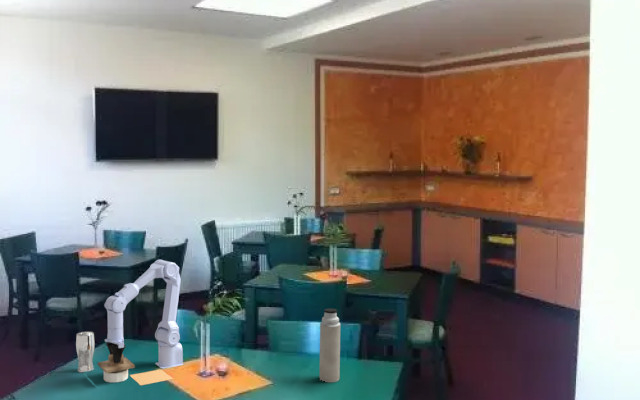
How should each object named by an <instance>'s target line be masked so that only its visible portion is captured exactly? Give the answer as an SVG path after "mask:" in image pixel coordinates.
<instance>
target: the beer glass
mask: <svg viewBox="0 0 640 400" xmlns="http://www.w3.org/2000/svg"><path fill="white" fill-rule="evenodd" d="M75 339H76V341H75V348H76V353H77V358H78V366H77V372H79V373H82V374H83V373H85V372H90V371H93V370H94V369H95V368H94V363H93V359H94V352H95V333H94V332H93V331H81V332H78V333H76V338H75Z"/></svg>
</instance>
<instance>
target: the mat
mask: <svg viewBox="0 0 640 400" xmlns="http://www.w3.org/2000/svg"><path fill="white" fill-rule="evenodd" d="M129 377H131V378H132V379H133V380H134V381H135V382H137V384H138V385H139V386H144V385H145V386H146V385H150V384H154V383H159V382H165V381H170V380H173V379H174V378H173V377H172V376H171V375H169V374H168V373H167V372H165V371H164V370H162V369H161V368H160V369H156V370H150V371H145V372H140V373H134V374H129Z"/></svg>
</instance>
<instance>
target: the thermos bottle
mask: <svg viewBox="0 0 640 400" xmlns="http://www.w3.org/2000/svg"><path fill="white" fill-rule="evenodd" d="M323 311H324V312H323V313H324V314H323V316H322V318H321V322H320V325H319V329H320V332H319V377H318V378H320V379H319V381H321V380H322V381H321V382H323V381H325V383H336V382H339V380H340V376H341V375H340V369H341V368H340V367H341V365H340V363H341V322H340V318H339V317H338V316H337V315H338V314H337V312H338V310H337V309H336V308H325V309H324V310H323Z"/></svg>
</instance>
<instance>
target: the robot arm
mask: <svg viewBox="0 0 640 400" xmlns="http://www.w3.org/2000/svg"><path fill="white" fill-rule="evenodd" d="M149 266H150V267H149V268H148V269H147V270H145V272H144V273H142V274H141V276H139V277H138V278H137V279H136V280H135V281H134V282H133V283H132V282H129V283H125V284H124V285H123V287H122V288H121V289H120V290H119V291H118V292H115V293H114V295H111V296H109V297H107V298H106V300H105V302H104V303H103V304H104V305H103V306H104V308H105V309H106V312H107V313H106V314H107V337H106V338H105V339H104V342H105V345H106V346H107V349H108V351H109V355H112V354H113V360H114V363H120V361H121V357H122V354H123V352H124V351H125V348H126V344H125V342H124V341H125V339H124V338H125V337H124V312H125V310H126V307H127V305H128V304H129V303H130V302H131V301H132V300H134V299H135V298H136V297H137V296H138V295H139V292H140V290H141V289H142V288H143V287H145V286H146V285H147V284H149V283H150V282H151V281H153V280H155V279H163V280H164V281H165V283H166V287H165V288H166V289H165V295H164V303H163V304H164V305H163V310H162V317H161V318H162V319H161V321H160V322H159V323H158V325H157V329H156V330H155V333H154V338H155V339H156V341H157V344H158V362H155V363H154V364H155V365H156V366H157V367H159V368H160V369H161V370H162V369H168V368H173V367H178V366H183V365H184V359H183V356H184V353H183V351H184V350H183V346H182V344H181V343H180V339H181V337H180V336H181V335H180V327H179V326H178V323H177V322H176V321H177V314H178V306H179V296H180V292H181V290H180V289H181V281H182V279H181V275H180V267H179V266H178V264H176V262H172V261H168V260H163V259H157V260H155V261H154V262H153V263H151V264H150V265H149Z"/></svg>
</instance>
